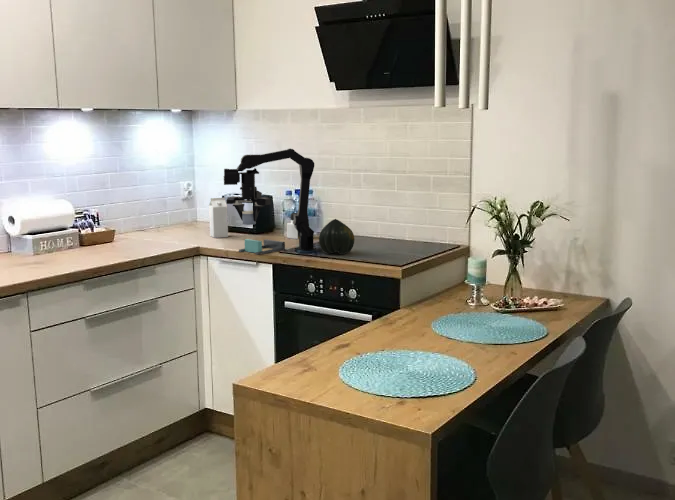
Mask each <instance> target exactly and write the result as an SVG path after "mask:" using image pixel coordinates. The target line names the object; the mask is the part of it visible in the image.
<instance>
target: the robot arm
mask: <svg viewBox="0 0 675 500" xmlns="http://www.w3.org/2000/svg"><path fill="white" fill-rule="evenodd" d="M286 159H290V160H291V161H293V162H295V163H296V164H298V165H299V167H298V169H299V175H300V184H299V185H300V187H299V195H298V196H299V198H298V209H297V211H296V213H297V215H295V214H294V221H293V224H294V227H295V228H296V230H297V231H298V232H299V233H300V234H301V235H299V239H298V247H296V249H297V250H301V251H310V250H317V247H315V246H314V245H315V244H314V234H315V231H314V230H313V229H312V228H311V227H310V219H309V214H308V209H309V208H308V207H309V199H310V197H309V196H310V185H311V184H310V183H311V179H312V175H313V173H314V168H315V162H314V160H313V159H311V158H310V157H304V156H303V155H302V154H300V153H298V152H297V151H295V150H294V149H293V148H287V149H283V150H279V151H277V150H276V151H272V152H267V153H262V154H243V155H242V157H241V159H240V164H239V165H238V166H237V167H236V168H224V169H223V185H224V186H229V185H230V186H231V185H233V186H234V185H236V186H237V185H238V183H241V186H240V188H239V190H241V196H233V195H232V196H228V197H227V198H226V199H225V202H226V205H232V207H234V208H235V210H236V212H237V214H238V216H239V218H240V219H241V221H242V211H245V210H244V208H245V204H254V205H252V211H253V218H254V221H257V219H258V216H259V213H260V211H261V209H262V208H263V207H266V206H268V205H269V206H270V205H271V204H272V200H271V199H270V197H262V195H263V193H262V192H261V191H259V190H258V188H257V186H256V178H255V177H256V176H255V175H259V174H260V171H259V170H258V169H257V167H258V166H260V165H263V164H266V163H272V162H276V161H281V160H286ZM244 171H245V172H244Z"/></svg>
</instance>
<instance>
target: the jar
mask: <svg viewBox="0 0 675 500" xmlns="http://www.w3.org/2000/svg"><path fill="white" fill-rule="evenodd" d="M256 221H257V220H256ZM256 221H254V218H253V210H244V211H242V220H241V223H242V225H244V226H245V225H246V226H251V225H256V223H257V222H256Z"/></svg>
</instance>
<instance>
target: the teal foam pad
mask: <svg viewBox="0 0 675 500" xmlns="http://www.w3.org/2000/svg"><path fill="white" fill-rule="evenodd" d="M262 245H263V241H262V240H257V239H251V238H245V239H244V249H245V251H244V252H249V253H255V254H256V252H259V251H263V248H262Z"/></svg>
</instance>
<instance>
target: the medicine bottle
mask: <svg viewBox="0 0 675 500" xmlns="http://www.w3.org/2000/svg"><path fill="white" fill-rule="evenodd" d="M294 214H295V215H297V212H293V213H290V222H287V223H286V238H287V239H295V240H299V235H301V234H300V233H299V232H298V231H297V230H296V228H295V227H294V224H293V221H294Z"/></svg>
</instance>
